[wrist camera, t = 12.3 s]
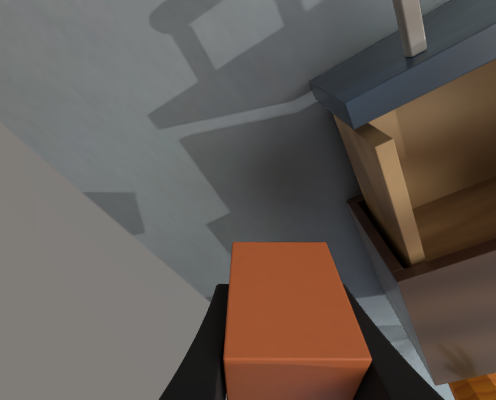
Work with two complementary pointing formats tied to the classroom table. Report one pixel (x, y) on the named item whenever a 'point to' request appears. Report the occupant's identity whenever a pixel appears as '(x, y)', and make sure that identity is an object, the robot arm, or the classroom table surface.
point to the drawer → (423, 127)
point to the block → (290, 325)
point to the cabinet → (440, 302)
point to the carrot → (475, 388)
